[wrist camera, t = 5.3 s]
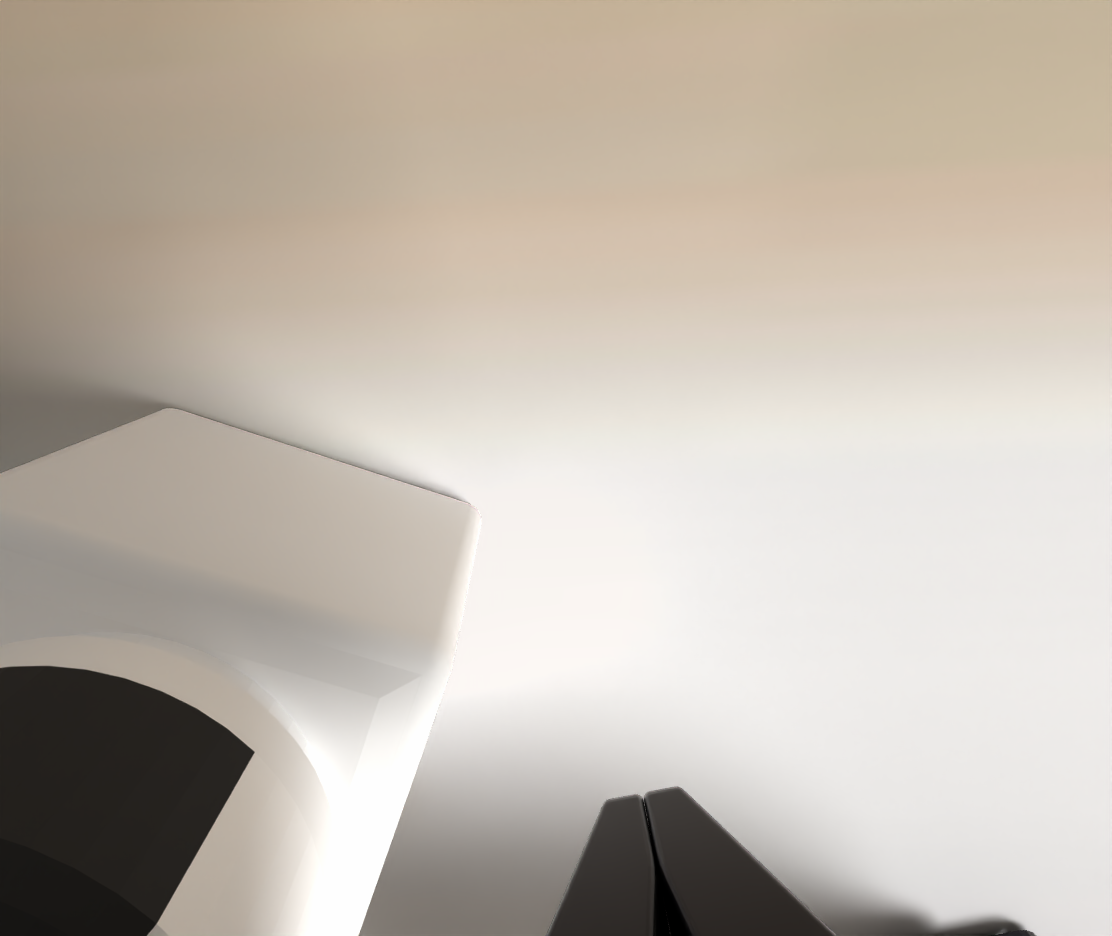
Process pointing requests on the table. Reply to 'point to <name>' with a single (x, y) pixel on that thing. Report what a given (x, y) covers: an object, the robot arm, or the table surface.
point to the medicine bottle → (214, 680)
